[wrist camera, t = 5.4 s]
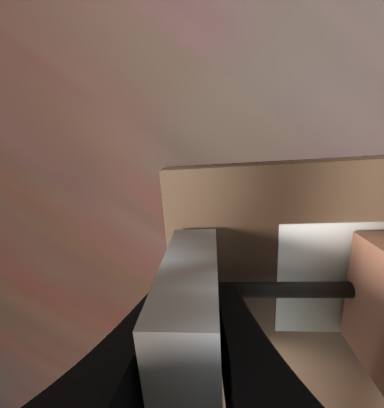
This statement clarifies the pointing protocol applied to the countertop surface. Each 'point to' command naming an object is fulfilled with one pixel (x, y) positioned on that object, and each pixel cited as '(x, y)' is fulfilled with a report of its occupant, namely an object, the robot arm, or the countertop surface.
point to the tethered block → (209, 299)
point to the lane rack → (288, 251)
